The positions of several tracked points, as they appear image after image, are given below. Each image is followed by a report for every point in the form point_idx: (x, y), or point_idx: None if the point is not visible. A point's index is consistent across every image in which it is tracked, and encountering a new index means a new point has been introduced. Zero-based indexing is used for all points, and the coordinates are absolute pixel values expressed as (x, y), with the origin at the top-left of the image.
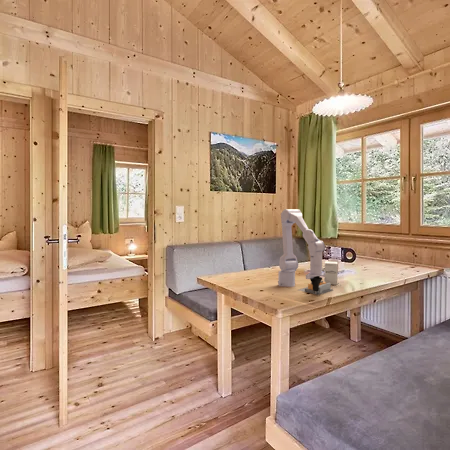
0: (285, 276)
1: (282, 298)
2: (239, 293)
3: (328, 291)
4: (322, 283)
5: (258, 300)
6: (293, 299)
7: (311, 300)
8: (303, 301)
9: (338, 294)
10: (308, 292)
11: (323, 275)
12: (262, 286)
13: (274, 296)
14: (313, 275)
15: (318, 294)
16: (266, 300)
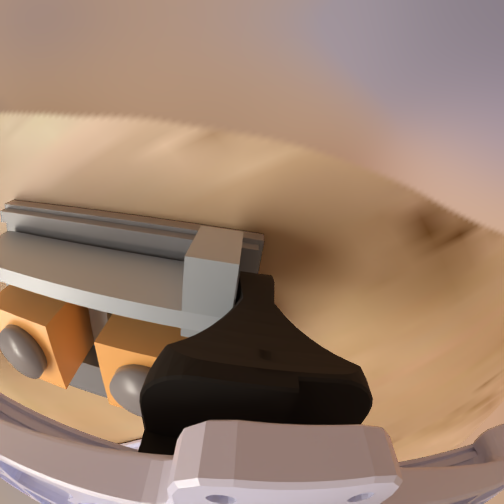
0: None
1: (448, 385)
2: None
3: (59, 215)
4: (34, 319)
5: (493, 409)
6: (453, 339)
7: (433, 229)
8: (476, 267)
9: (45, 117)
10: None
11: (240, 424)
12: None
13: (422, 422)
14: (483, 479)
15: (252, 244)
16: (490, 397)
